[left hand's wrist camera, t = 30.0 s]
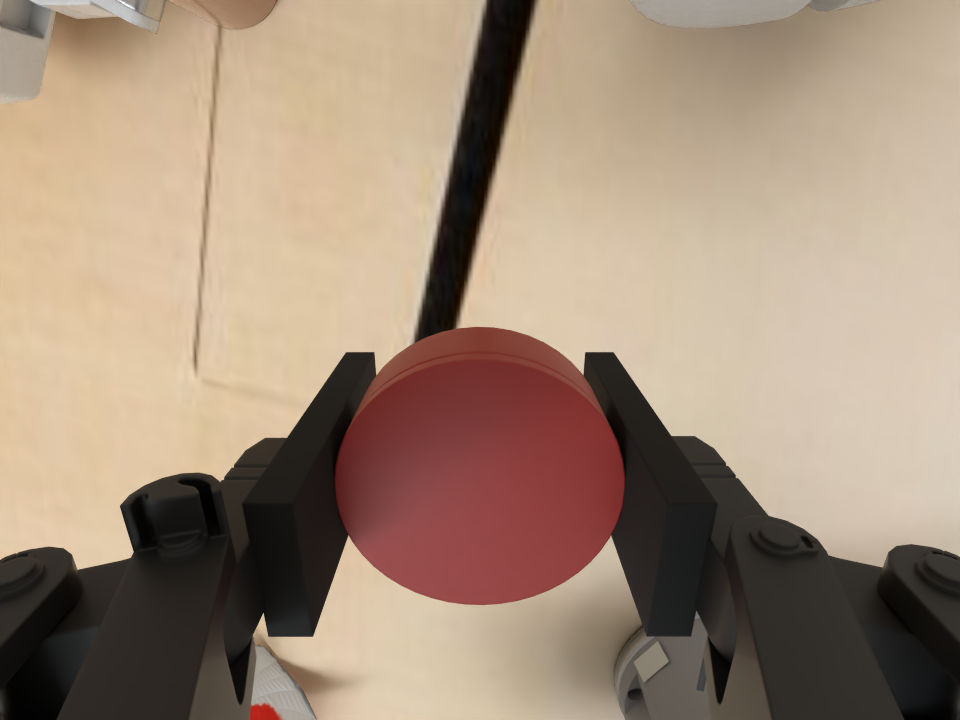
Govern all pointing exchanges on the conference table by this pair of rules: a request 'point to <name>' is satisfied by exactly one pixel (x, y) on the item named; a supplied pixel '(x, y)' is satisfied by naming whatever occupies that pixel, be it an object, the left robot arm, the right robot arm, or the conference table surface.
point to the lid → (479, 469)
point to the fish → (276, 692)
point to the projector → (730, 11)
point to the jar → (229, 11)
